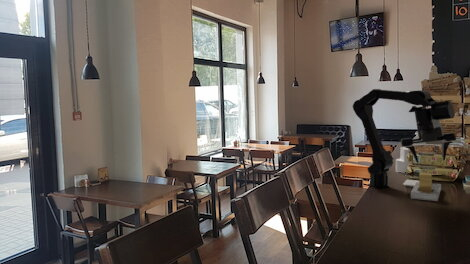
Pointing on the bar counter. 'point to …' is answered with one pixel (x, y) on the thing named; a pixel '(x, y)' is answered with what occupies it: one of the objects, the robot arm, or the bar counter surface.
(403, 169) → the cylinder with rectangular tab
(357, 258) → the bar counter surface
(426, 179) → the square peg
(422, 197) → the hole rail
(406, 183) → the pad
